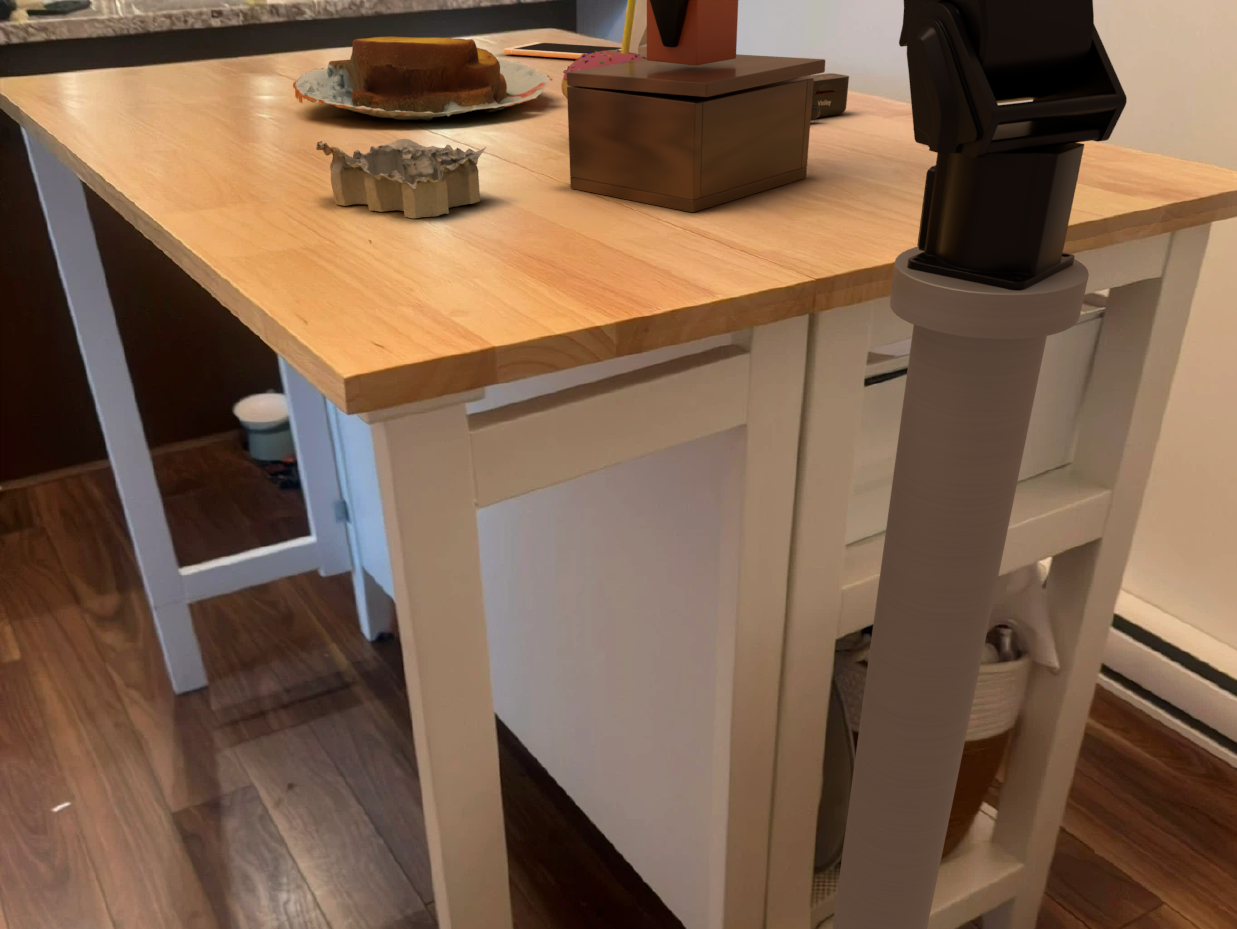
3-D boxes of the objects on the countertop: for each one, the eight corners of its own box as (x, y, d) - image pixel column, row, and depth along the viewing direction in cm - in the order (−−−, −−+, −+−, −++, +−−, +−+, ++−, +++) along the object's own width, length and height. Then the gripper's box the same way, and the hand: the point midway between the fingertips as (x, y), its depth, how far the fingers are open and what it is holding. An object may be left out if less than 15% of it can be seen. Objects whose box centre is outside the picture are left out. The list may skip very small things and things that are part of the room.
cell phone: (608, 61, 139) (608, 55, 139) (502, 54, 146) (501, 48, 146) (641, 54, 144) (641, 48, 144) (536, 47, 151) (536, 41, 151)
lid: (825, 72, 81) (825, 59, 81) (706, 97, 73) (706, 82, 73) (688, 64, 89) (688, 51, 88) (566, 85, 80) (565, 72, 80)
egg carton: (317, 203, 82) (307, 141, 79) (394, 183, 87) (387, 124, 84) (422, 223, 76) (415, 157, 74) (498, 201, 81) (494, 139, 79)
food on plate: (551, 84, 125) (549, 16, 122) (556, 127, 105) (553, 46, 101) (317, 89, 124) (307, 20, 120) (275, 133, 104) (262, 52, 100)
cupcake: (667, 133, 101) (668, -24, 95) (657, 152, 94) (658, -15, 88) (571, 132, 102) (566, -23, 96) (554, 151, 95) (547, -15, 89)
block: (736, 58, 81) (739, -16, 78) (696, 65, 78) (697, -11, 75) (686, 53, 83) (688, -18, 81) (646, 60, 80) (646, -14, 78)
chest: (806, 178, 86) (814, 77, 82) (692, 212, 78) (695, 103, 74) (686, 158, 92) (688, 64, 89) (570, 188, 84) (566, 86, 80)
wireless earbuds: (771, 118, 107) (773, 80, 105) (828, 110, 110) (831, 72, 108) (804, 125, 103) (806, 86, 102) (862, 117, 107) (866, 78, 105)
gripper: (692, -225, 81) (687, 24, 90) (499, -238, 70) (516, 49, 79) (824, -236, 75) (805, 33, 84) (636, -252, 64) (637, 61, 72)
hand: (692, 43), depth 80 cm, fingers closed on block, 4 cm apart
